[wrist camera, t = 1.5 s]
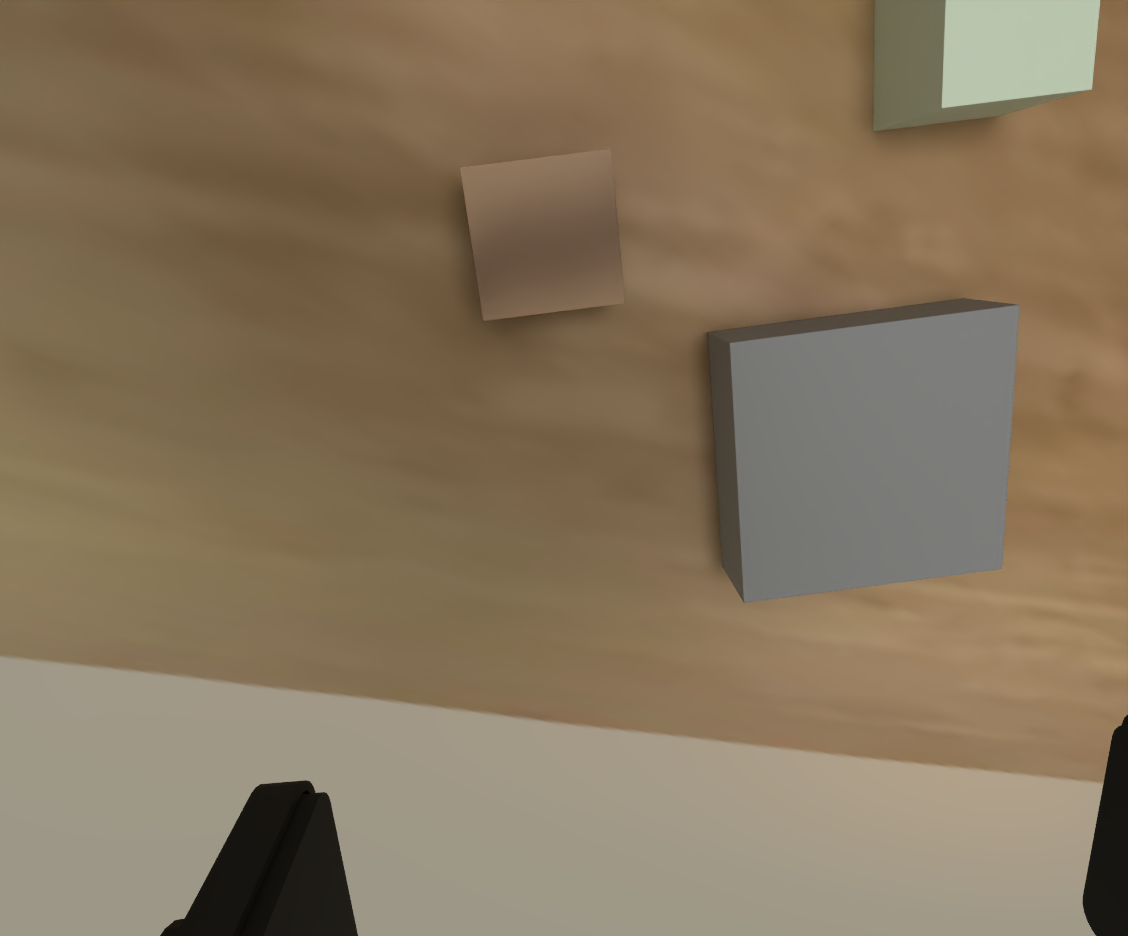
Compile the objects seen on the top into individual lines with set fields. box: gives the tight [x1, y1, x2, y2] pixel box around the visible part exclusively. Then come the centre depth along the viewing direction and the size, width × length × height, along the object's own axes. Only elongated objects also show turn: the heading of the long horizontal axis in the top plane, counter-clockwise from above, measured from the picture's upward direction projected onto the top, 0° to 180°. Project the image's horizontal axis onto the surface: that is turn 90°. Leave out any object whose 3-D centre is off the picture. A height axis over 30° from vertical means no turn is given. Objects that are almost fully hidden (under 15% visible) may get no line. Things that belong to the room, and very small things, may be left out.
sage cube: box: [873, 0, 1100, 132], centre depth 25 cm, size 5×5×5 cm
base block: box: [708, 298, 1019, 603], centre depth 30 cm, size 11×11×4 cm
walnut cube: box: [460, 149, 625, 321], centre depth 26 cm, size 5×5×5 cm
